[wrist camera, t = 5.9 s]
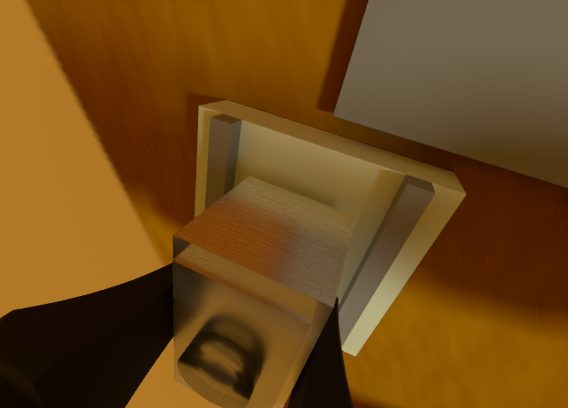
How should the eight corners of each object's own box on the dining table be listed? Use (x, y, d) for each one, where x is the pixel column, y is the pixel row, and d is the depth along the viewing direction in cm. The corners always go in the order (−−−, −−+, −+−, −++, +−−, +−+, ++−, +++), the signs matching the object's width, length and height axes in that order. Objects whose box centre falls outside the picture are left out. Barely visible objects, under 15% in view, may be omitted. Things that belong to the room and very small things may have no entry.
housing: (306, 326, 15) (261, 464, 10) (230, 290, 16) (153, 399, 11) (355, 215, 11) (322, 353, 6) (249, 175, 12) (137, 262, 7)
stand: (453, 172, 12) (473, 205, 9) (359, 323, 18) (353, 372, 15) (226, 99, 14) (184, 108, 11) (212, 256, 21) (182, 288, 18)
